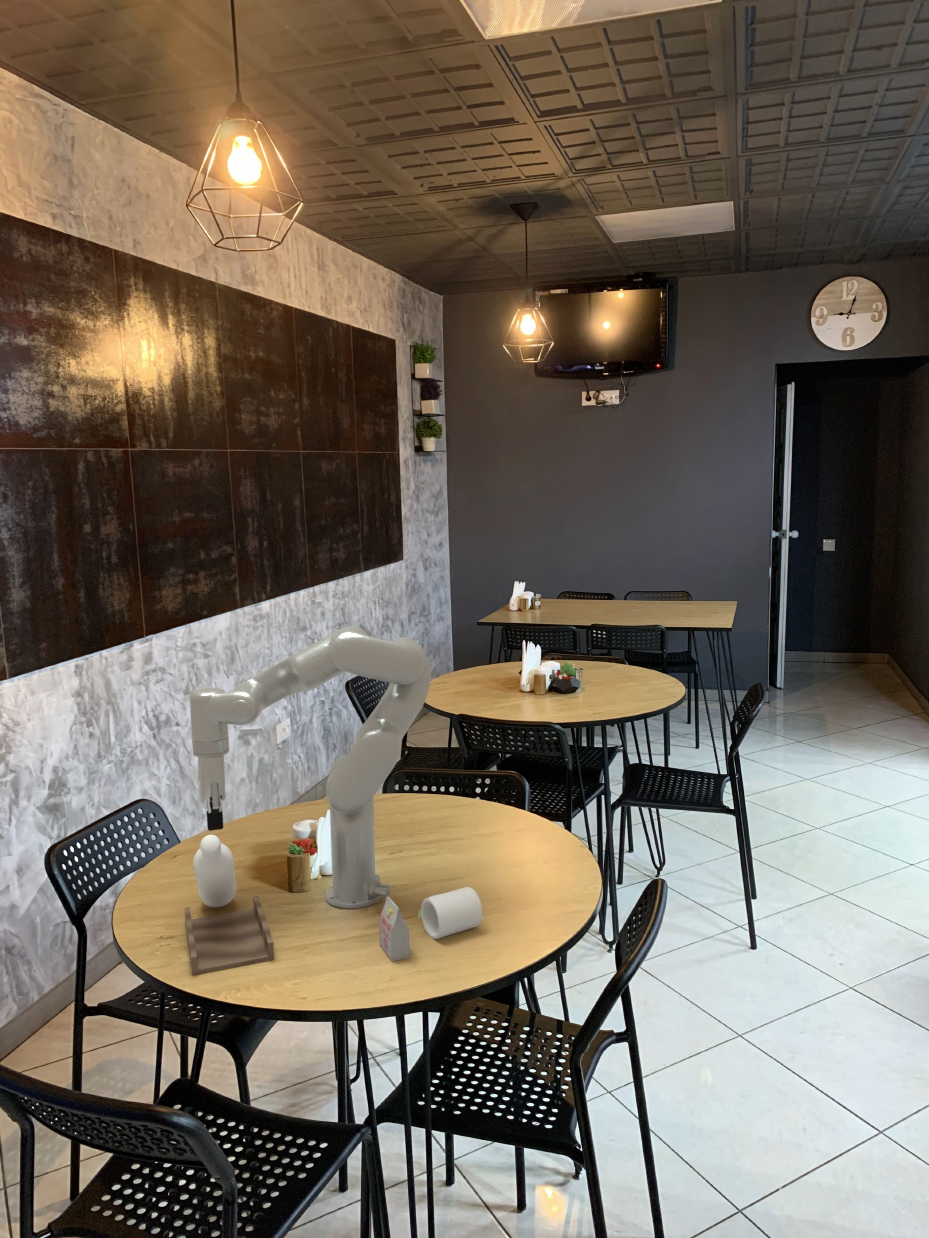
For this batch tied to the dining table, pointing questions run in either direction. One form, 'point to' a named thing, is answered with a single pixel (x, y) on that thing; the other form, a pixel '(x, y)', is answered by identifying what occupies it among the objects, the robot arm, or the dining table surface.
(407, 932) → the grey gabled box
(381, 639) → the robot arm
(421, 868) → the dining table surface
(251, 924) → the u rest
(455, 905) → the mug
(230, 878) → the bottle
